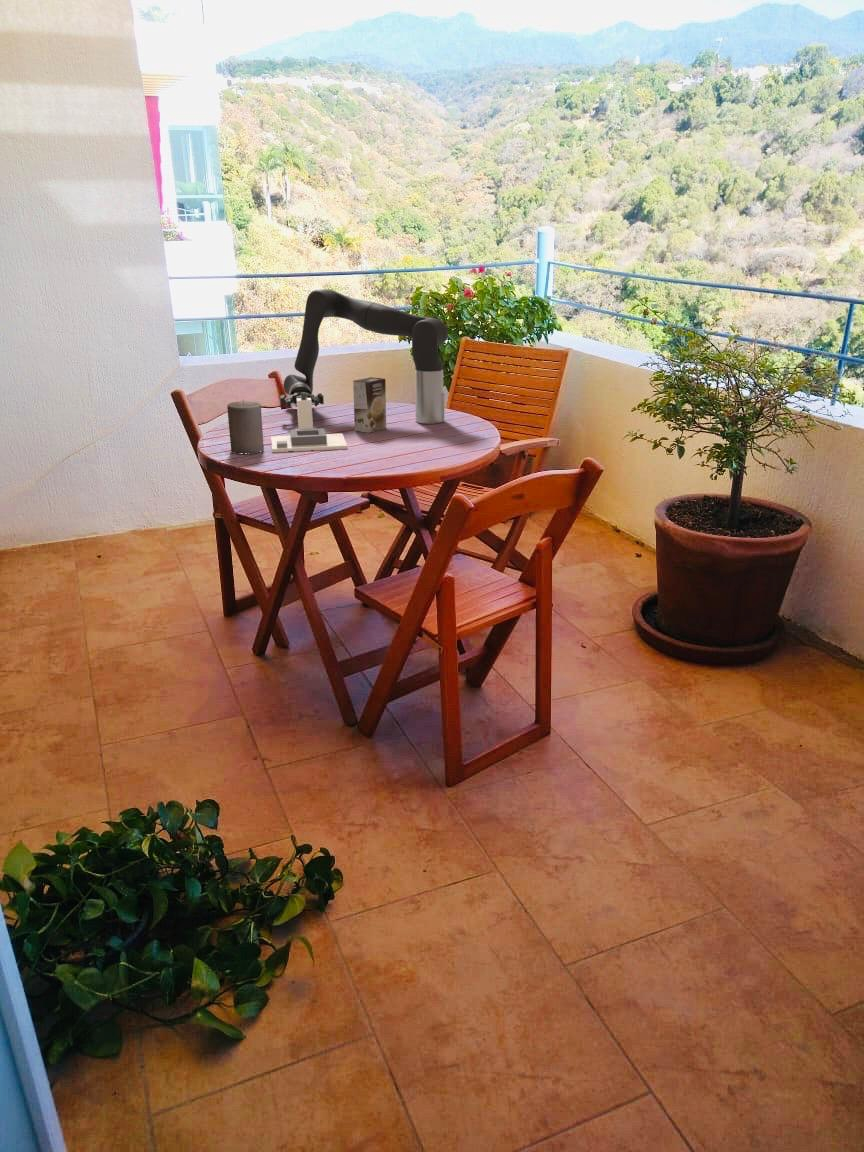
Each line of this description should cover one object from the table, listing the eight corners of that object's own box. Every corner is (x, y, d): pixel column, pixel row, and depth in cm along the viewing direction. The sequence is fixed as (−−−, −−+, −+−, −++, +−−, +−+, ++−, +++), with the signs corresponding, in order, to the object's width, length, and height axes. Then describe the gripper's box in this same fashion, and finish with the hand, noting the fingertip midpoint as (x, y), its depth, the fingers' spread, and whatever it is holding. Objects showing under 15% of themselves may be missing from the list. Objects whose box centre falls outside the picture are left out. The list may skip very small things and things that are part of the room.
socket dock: (342, 436, 262) (341, 425, 260) (347, 448, 247) (346, 437, 246) (271, 439, 258) (270, 428, 257) (272, 452, 243) (271, 440, 242)
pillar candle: (224, 453, 243) (219, 401, 237) (241, 445, 252) (237, 395, 246) (253, 456, 240) (249, 404, 234) (270, 448, 249) (267, 397, 243)
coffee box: (369, 433, 266) (368, 382, 259) (354, 430, 269) (352, 380, 263) (387, 428, 273) (385, 378, 266) (371, 425, 276) (370, 376, 270)
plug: (312, 432, 267) (310, 391, 262) (313, 434, 264) (311, 393, 259) (298, 432, 267) (296, 391, 262) (299, 435, 263) (296, 394, 258)
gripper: (278, 384, 284) (279, 393, 269) (320, 382, 286) (324, 391, 272) (280, 406, 287) (281, 416, 272) (321, 404, 289) (325, 414, 275)
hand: (302, 403), depth 272 cm, fingers open, 8 cm apart
